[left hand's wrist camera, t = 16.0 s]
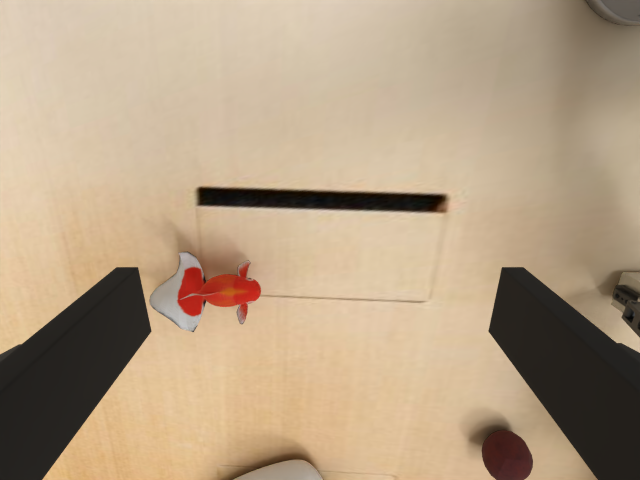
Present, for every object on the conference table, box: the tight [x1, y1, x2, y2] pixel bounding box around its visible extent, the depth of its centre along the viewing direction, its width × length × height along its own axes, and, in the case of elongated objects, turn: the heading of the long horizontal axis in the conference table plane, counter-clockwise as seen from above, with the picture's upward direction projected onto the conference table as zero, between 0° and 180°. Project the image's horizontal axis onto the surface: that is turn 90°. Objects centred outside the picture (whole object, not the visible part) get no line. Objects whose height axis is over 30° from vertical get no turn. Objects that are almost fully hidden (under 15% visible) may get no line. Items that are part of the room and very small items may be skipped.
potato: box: [482, 430, 533, 480], centre depth 57 cm, size 7×8×7 cm
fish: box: [150, 252, 261, 332], centre depth 45 cm, size 11×16×10 cm
